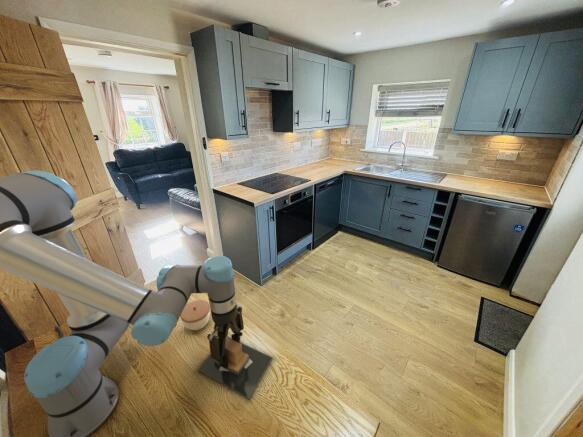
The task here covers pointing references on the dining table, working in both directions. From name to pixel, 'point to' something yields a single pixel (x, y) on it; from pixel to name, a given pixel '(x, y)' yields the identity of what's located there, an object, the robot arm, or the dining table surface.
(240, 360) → the wooden stepped block
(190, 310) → the trinket box
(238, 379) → the slate board
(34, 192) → the robot arm
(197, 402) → the dining table surface
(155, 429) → the dining table surface
